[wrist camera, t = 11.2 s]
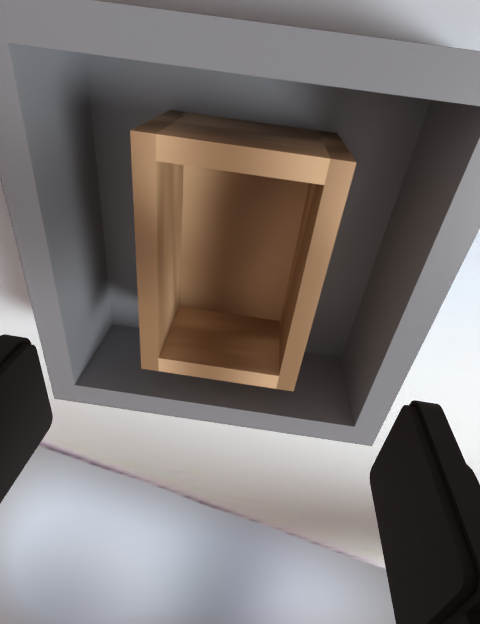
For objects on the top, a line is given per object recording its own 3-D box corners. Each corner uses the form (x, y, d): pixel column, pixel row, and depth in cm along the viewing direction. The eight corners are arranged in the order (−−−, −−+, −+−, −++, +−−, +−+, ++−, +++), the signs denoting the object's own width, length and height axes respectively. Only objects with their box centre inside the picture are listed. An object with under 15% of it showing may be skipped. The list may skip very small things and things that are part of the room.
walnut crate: (337, 133, 16) (356, 162, 12) (291, 326, 21) (293, 391, 17) (170, 110, 16) (130, 130, 12) (168, 307, 22) (141, 368, 17)
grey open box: (468, 58, 15) (562, 61, 10) (353, 364, 24) (372, 446, 19) (61, 4, 15) (-48, -19, 10) (101, 327, 24) (54, 398, 19)
